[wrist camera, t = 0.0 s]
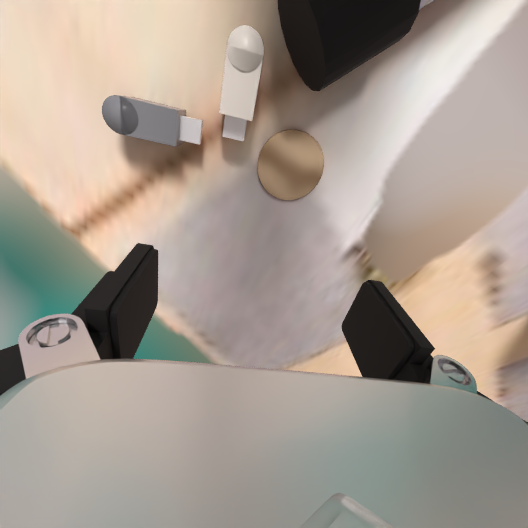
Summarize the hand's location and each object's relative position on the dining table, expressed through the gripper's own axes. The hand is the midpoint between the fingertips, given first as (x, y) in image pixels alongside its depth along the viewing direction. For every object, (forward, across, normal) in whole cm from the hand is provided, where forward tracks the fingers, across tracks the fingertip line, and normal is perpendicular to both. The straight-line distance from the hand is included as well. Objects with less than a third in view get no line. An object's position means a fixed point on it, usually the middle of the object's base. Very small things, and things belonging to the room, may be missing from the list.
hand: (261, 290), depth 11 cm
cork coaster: (+31, -6, -1) cm, 32 cm away
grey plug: (+31, +13, -3) cm, 34 cm away
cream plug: (+31, +3, -9) cm, 33 cm away
